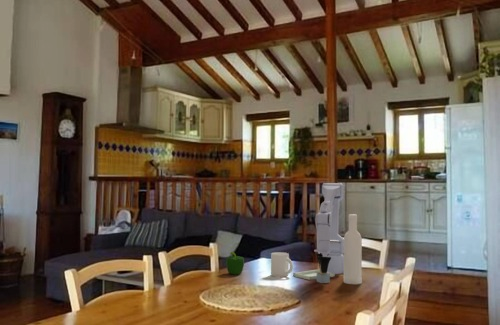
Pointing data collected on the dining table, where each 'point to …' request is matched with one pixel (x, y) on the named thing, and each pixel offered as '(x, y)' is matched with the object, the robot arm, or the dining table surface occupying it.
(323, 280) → the cup
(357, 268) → the bottle
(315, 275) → the tray
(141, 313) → the dining table surface
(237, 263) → the bell pepper
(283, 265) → the mug
